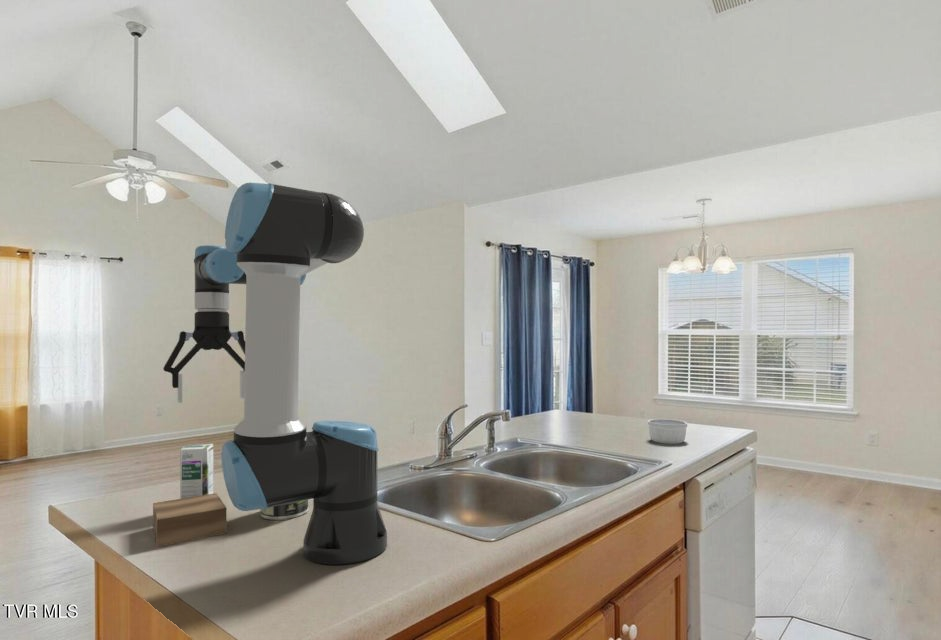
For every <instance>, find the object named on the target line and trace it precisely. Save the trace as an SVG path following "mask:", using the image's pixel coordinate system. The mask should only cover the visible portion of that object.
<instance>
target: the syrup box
mask: <svg viewBox="0 0 941 640" xmlns="http://www.w3.org/2000/svg"><path fill="white" fill-rule="evenodd" d="M179 450H180V455H179V471H180V472H179V475H180V476H179V478H180V479H179V481H180V482H179V484H180V485H179V488H180V497H179V499H183V498H189V497H195V496H202V495H208V494H214V443H209V444H205V443H204V444H188V445H185V446H183V447H182V448H181V449H179Z"/></svg>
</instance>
